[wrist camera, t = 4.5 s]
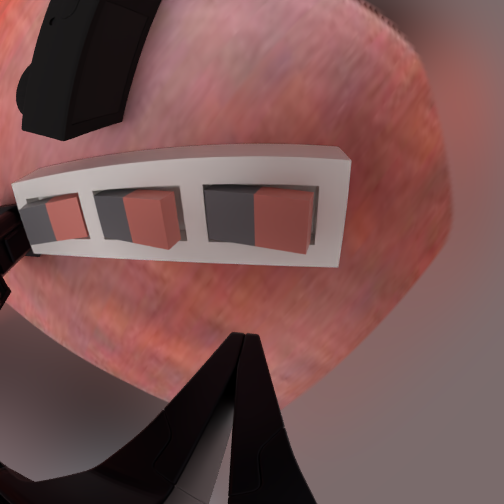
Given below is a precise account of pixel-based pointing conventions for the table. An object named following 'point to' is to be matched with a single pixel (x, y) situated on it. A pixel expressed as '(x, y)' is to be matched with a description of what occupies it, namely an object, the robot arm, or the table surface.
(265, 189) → the rocker
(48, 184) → the rocker switch panel
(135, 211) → the rocker
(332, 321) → the table surface
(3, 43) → the table surface
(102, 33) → the black cubic block
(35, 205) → the rocker
